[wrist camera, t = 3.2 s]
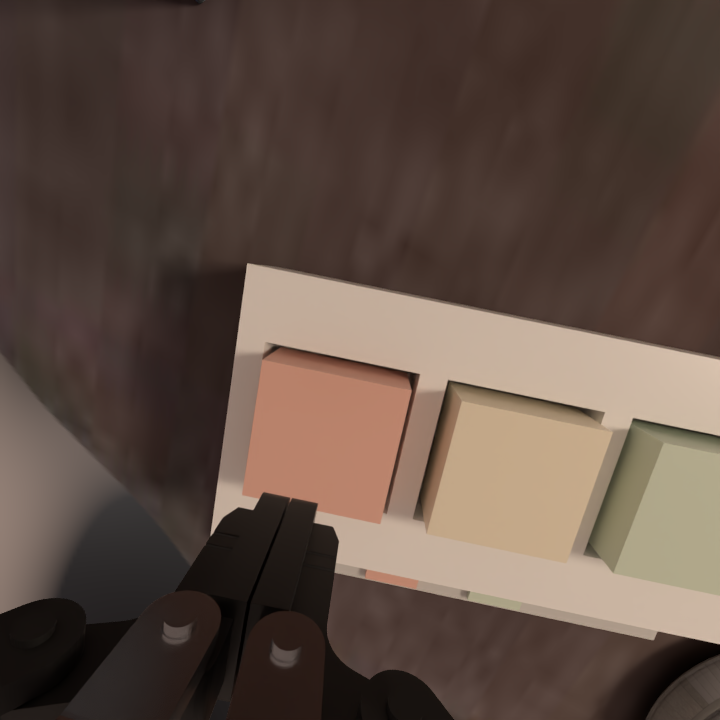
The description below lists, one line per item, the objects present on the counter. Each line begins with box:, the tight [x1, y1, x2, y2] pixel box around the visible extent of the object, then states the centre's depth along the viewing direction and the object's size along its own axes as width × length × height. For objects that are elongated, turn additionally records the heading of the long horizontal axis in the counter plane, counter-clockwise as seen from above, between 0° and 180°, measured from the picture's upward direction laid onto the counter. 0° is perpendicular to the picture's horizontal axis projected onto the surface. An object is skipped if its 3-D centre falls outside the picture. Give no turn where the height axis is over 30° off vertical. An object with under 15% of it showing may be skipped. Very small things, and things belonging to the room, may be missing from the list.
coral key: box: [242, 347, 412, 524], centre depth 18 cm, size 6×6×3 cm
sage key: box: [588, 420, 720, 596], centre depth 17 cm, size 6×6×3 cm
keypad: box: [211, 263, 720, 644], centre depth 20 cm, size 25×16×5 cm, turn 79°
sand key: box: [420, 382, 613, 563], centre depth 18 cm, size 6×6×3 cm
